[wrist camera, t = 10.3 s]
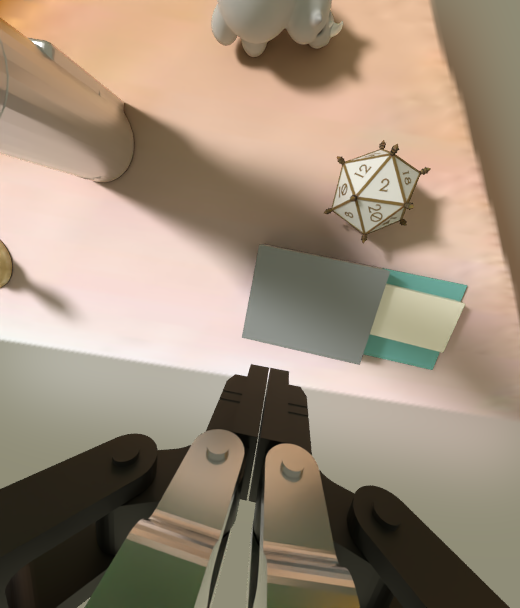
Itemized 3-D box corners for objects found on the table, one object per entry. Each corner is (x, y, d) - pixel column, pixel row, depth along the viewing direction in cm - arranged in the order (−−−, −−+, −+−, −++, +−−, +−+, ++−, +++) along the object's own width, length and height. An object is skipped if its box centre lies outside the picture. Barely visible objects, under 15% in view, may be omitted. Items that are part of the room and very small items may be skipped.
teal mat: (382, 268, 31) (383, 268, 30) (465, 284, 30) (467, 285, 30) (355, 351, 34) (356, 352, 33) (430, 368, 33) (432, 369, 32)
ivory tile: (377, 281, 31) (383, 284, 29) (454, 299, 30) (465, 303, 28) (361, 327, 32) (365, 332, 30) (433, 345, 32) (442, 352, 30)
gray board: (263, 243, 32) (259, 244, 28) (378, 267, 31) (390, 271, 27) (247, 326, 35) (241, 337, 31) (352, 350, 34) (359, 364, 30)
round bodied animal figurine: (306, 96, 30) (346, 58, 22) (202, 45, 26) (206, -22, 18) (328, 19, 28) (380, -52, 20) (218, -48, 24) (231, -168, 16)
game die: (370, 207, 33) (440, 237, 25) (311, 230, 31) (367, 269, 24) (378, 123, 27) (472, 131, 19) (305, 147, 25) (377, 166, 18)
